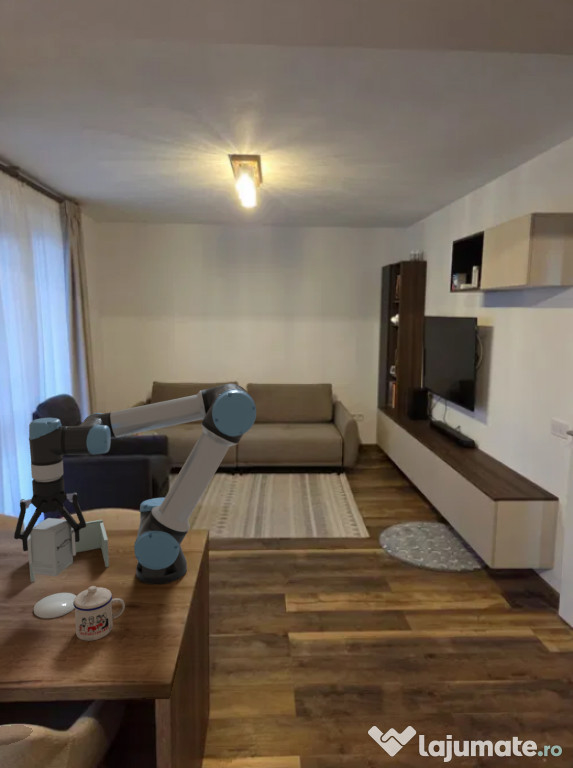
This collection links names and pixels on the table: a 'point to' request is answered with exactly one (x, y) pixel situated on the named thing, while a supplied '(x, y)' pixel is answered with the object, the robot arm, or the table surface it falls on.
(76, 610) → the teacup with lid
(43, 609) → the coaster
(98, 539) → the three-sided green enclosure
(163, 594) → the table surface
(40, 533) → the supplement box
